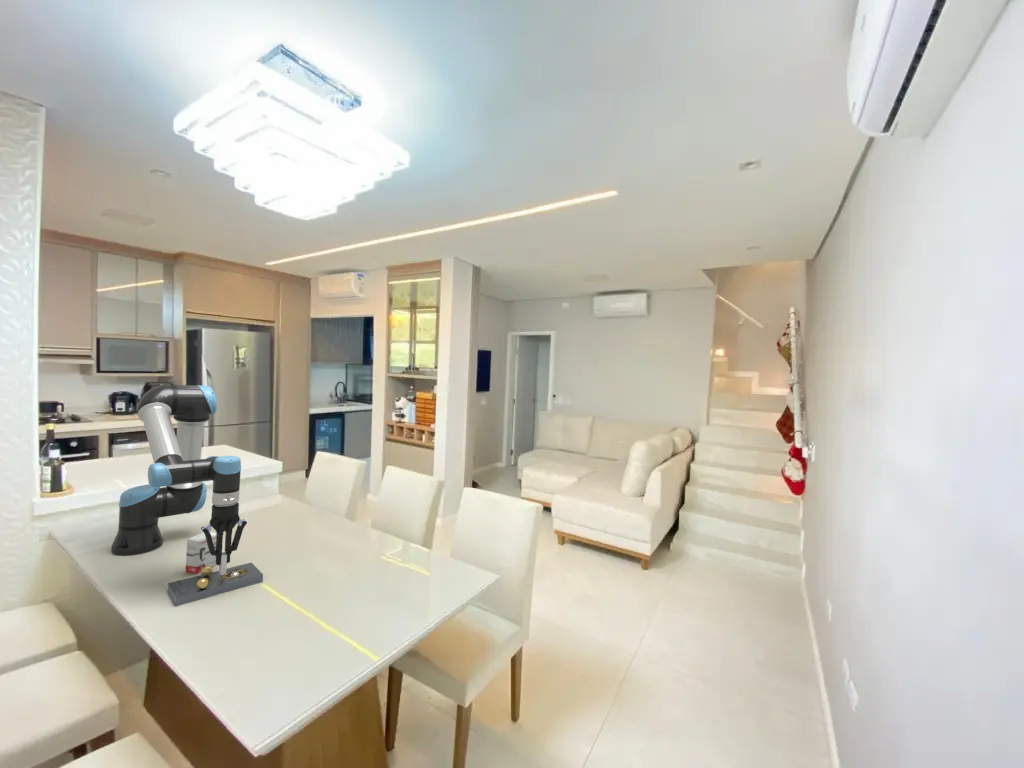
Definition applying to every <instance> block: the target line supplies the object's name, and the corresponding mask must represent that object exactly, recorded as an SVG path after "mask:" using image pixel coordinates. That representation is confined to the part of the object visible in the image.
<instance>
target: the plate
mask: <svg viewBox="0 0 1024 768" xmlns="http://www.w3.org/2000/svg"><path fill="white" fill-rule="evenodd" d="M232 572H239V573H240V576H237V577H229V576H230V574H231V573H232ZM201 578H206V579H208V581H209V584H208V586H207V587H206V588H204V589H199V588H197V586H196V584H197V582H198V580H200V579H201ZM263 581H264V573H263V572H261V570H260V569H258V567H257V566H256V565H254V563H253V562H252V561H251V562H248V563H244V564H241V565H236V566H233V567H232V566H231V567H226V574H224V575H220V574H219V570H215V571H212V573H211V574H210V575H209V576H203V575H202V574H200V575H196V576H193V577H187V578H185V579H184V578H183V579H180V580H179V579H178V580H175V581H171V582H168V584H167V592H168V594H169V596H170V598H171V600H172V602H173V603H174V606H175V607H178V606H181V605H185V604H188V603H192V602H196V601H199V600H202V599H206V598H210V597H213V596H217V595H220V594H224V593H228V592H232V591H234V590H238V589H242V588H245V587H249V586H251V585H256V584H260V583H263Z"/></svg>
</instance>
